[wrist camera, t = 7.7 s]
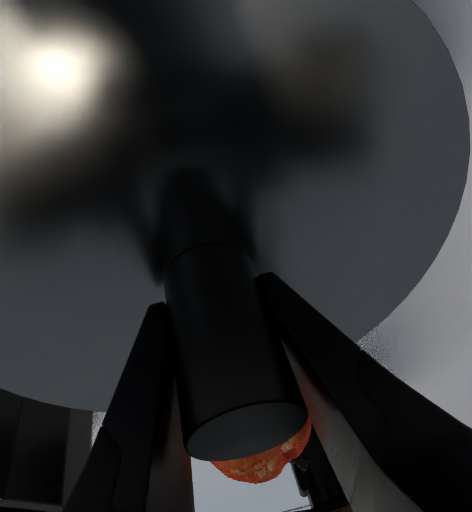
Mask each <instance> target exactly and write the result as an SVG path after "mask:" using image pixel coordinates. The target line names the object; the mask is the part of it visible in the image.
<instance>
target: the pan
mask: <svg viewBox="0 0 472 512" xmlns="http://www.w3.org/2000/svg"><path fill="white" fill-rule="evenodd" d="M92 419H93V413H92V411H89V410H81V409H73V408H67V407H62V406H58V405H53V404H48V403H43V402H40V401H36V400H33V399H30V398H26V397H23V396H19V395H16V394H14V393H11V392H8V391H6V390H3V389H1V388H0V512H61V511H62V509H63V508H64V506H65V504H66V502H67V500H68V498H69V496H70V494H71V492H72V490H73V488H74V486H75V484H76V482H77V480H78V478H79V476H80V474H81V471H82V469H83V467H84V465H85V463H86V461H87V458H88V456H89V454H90V451H91V449H92Z"/></svg>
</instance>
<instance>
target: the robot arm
mask: <svg viewBox="0 0 472 512" xmlns="http://www.w3.org/2000/svg"><path fill="white" fill-rule="evenodd" d="M258 281H259V284H260V286H261V289H262V292H263V294H264V297H265V299H266V302H267V305H268V307H269V310H270V313H271V315H272V318H273V320H274V323H275V325H276V328H277V330H278V333H279V336H280V338H281V341H282V344H283V346H284V349H285V351H286V354H287V357H288V359H289V362H290V365H291V367H292V370H293V372H294V375H295V378H296V380H297V383H298V386H299V388H300V391H301V393H302V396H303V399H304V401H305V404H306V407H307V409H308V416H309V418H310V420H311V422H312V423H311V432H310V437H309V440H308V442H307V444H306V446H305V447H304V449H303V451H302V453H301V454H300V455H301V457H302V458H303V459H304V460H307V459H310V460H312V461H311V462H310V463H309V464H308V466H307V469H306V470H305V471H301V469H300V468H299V466H297V465H296V464H293V463H290V464H291V467H292V470H293V473H294V476H295V479H296V483H297V486H298V489H299V492H300V495H301V496H302V497H306V496H308V499H309V502H310V505H311V509H310V510H307V511H301V512H472V429H471V428H470V427H468V426H466V425H465V424H463V423H462V422H460V421H459V420H457V419H456V418H454V417H453V416H451V415H450V414H448V413H447V412H446V411H444V410H443V409H441V408H440V407H438V406H437V405H436V404H434V403H433V402H431V401H430V400H428V399H427V398H425V397H424V396H423V395H421V394H420V393H418V392H417V391H415V390H414V389H412V388H411V387H410V386H408V385H407V384H405V383H404V382H403V381H401V380H400V379H399V378H397V377H396V376H394V375H393V374H392V373H390V372H389V371H388V370H387V369H385V368H384V367H383V366H382V365H381V364H379V363H378V362H377V361H376V360H374V359H373V358H372V357H371V356H370V355H369V354H367V353H366V352H365V351H364V350H361V348H360V347H359V346H358V345H357V344H356V343H355V342H353V341H352V340H351V339H350V338H349V337H348V336H346V335H345V334H344V333H343V332H342V331H341V330H339V329H338V328H337V327H336V326H335V325H334V324H332V323H331V322H330V321H329V320H328V319H327V318H326V317H324V316H323V315H322V314H321V313H320V312H319V311H317V310H316V309H315V308H314V307H313V306H312V305H310V304H309V303H308V302H307V301H306V300H305V299H303V298H302V297H301V296H300V295H299V294H298V293H297V292H295V291H294V290H293V289H292V288H291V287H290V286H288V285H287V284H286V283H285V282H284V281H283V280H281V279H280V278H279V277H278V276H277V275H276V274H274V273H273V272H266V273H263V274H260V275H258ZM360 350H361V351H360ZM102 425H103V426H101V427H100V429H99V432H98V434H97V437H96V439H95V442H94V444H93V447H92V449H91V451H90V454H89V456H88V458H87V461H86V463H85V465H84V467H83V469H82V471H81V474H80V476H79V478H78V480H77V482H76V484H75V486H74V488H73V490H72V492H71V494H70V496H69V498H68V500H67V502H66V504H65V506H64V508H63V509H62V511H61V512H195V509H194V495H193V482H192V469H191V456H190V455H189V454H188V453H187V452H186V450H185V449H184V445H183V437H182V429H181V421H180V412H179V404H178V396H177V388H176V380H175V372H174V364H173V356H172V348H171V340H170V332H169V324H168V316H167V307H166V304H165V303H164V302H158V303H154V304H151V305H150V306H149V307H148V309H147V311H146V314H145V316H144V319H143V321H142V324H141V326H140V329H139V332H138V334H137V337H136V339H135V342H134V344H133V347H132V349H131V352H130V354H129V357H128V359H127V362H126V364H125V367H124V369H123V372H122V374H121V377H120V379H119V382H118V384H117V387H116V389H115V392H114V394H113V397H112V399H111V402H110V404H109V407H108V410H107V412H106V415H105V417H104V420H103V422H102Z"/></svg>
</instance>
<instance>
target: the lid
mask: <svg viewBox="0 0 472 512" xmlns="http://www.w3.org/2000/svg"><path fill="white" fill-rule="evenodd" d="M469 156H470V131H469V116H468V111H467V106H466V101H465V96H464V91H463V86H462V83H461V80H460V78H459V75H458V73H457V70H456V68H455V65H454V63H453V61H452V58H451V56H450V53H449V51H448V48H447V47H446V45H445V44H444V42H443V41H442V39H441V37H440V36H439V34H438V33H437V31H436V30H435V28H434V27H433V25H432V23H431V22H430V20H429V19H428V17H427V16H426V14H425V13H424V12H423V11H422V10H421V9H420V8H419V7H418V6H417V5H416V4H415V3H414V2H413V0H0V388H1V389H3V390H6V391H8V392H11V393H14V394H16V395H19V396H23V397H26V398H30V399H33V400H36V401H40V402H43V403H48V404H53V405H58V406H62V407H67V408H73V409H81V410H89V411H96V412H107V410H108V407H109V404H110V402H111V399H112V397H113V394H114V392H115V389H116V387H117V384H118V382H119V379H120V377H121V374H122V372H123V369H124V367H125V364H126V362H127V359H128V357H129V354H130V352H131V349H132V347H133V344H134V342H135V339H136V337H137V334H138V332H139V329H140V326H141V324H142V321H143V319H144V316H145V314H146V311H147V309H148V307H149V306H150V305H151V304H154V303H158V302H164V303H165V304H166V307H167V316H168V324H169V332H170V340H171V348H172V356H173V364H174V372H175V380H176V388H177V396H178V404H179V412H180V421H181V429H182V437H183V445H184V449H185V450H186V452H187V453H188V454H189V455H190V456H192V457H193V458H196V459H199V460H204V461H229V460H236V459H241V458H246V457H250V456H253V455H256V454H259V453H262V452H265V451H267V450H270V449H272V448H274V447H276V446H278V445H280V444H282V443H284V442H286V441H287V440H289V439H290V438H292V437H293V436H294V435H296V434H297V433H298V432H299V431H300V430H301V429H302V428H303V427H304V425H305V424H306V422H307V419H308V409H307V407H306V404H305V401H304V399H303V396H302V393H301V391H300V388H299V386H298V383H297V380H296V378H295V375H294V372H293V370H292V367H291V365H290V362H289V359H288V357H287V354H286V351H285V349H284V346H283V344H282V341H281V338H280V336H279V333H278V330H277V328H276V325H275V323H274V320H273V318H272V315H271V313H270V310H269V307H268V305H267V302H266V299H265V297H264V294H263V292H262V289H261V286H260V284H259V281H258V275H260V274H263V273H266V272H273V273H274V274H276V275H277V276H278V277H279V278H280V279H281V280H283V281H284V282H285V283H286V284H287V285H288V286H290V287H291V288H292V289H293V290H294V291H295V292H297V293H298V294H299V295H300V296H301V297H302V298H303V299H305V300H306V301H307V302H308V303H309V304H310V305H312V306H313V307H314V308H315V309H316V310H317V311H319V312H320V313H321V314H322V315H323V316H324V317H326V318H327V319H328V320H329V321H330V322H331V323H332V324H334V325H335V326H336V327H337V328H338V329H339V330H341V331H342V332H343V333H344V334H345V335H346V336H348V337H349V338H350V339H351V340H352V341H353V342H355V343H356V342H357V341H358V340H360V339H361V338H362V337H364V336H365V335H366V334H368V333H369V332H370V331H371V330H373V329H374V328H375V327H376V326H377V325H378V324H379V323H381V322H382V321H383V320H384V319H385V318H386V317H388V316H389V315H390V314H391V312H392V311H393V310H394V309H395V308H396V307H397V306H398V305H399V304H400V303H401V302H402V301H403V300H404V299H405V298H406V297H407V296H408V295H409V293H410V292H411V291H412V290H413V289H414V287H415V286H416V285H417V284H418V283H419V281H420V280H421V279H422V277H423V276H424V274H425V273H426V272H427V270H428V269H429V267H430V266H431V264H432V263H433V261H434V260H435V258H436V257H437V255H438V253H439V251H440V249H441V247H442V246H443V244H444V242H445V240H446V238H447V236H448V235H449V232H450V230H451V227H452V225H453V222H454V220H455V217H456V215H457V213H458V210H459V207H460V203H461V200H462V196H463V192H464V188H465V184H466V181H467V172H468V164H469Z"/></svg>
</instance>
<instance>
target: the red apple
mask: <svg viewBox="0 0 472 512" xmlns="http://www.w3.org/2000/svg"><path fill="white" fill-rule="evenodd" d="M311 423H312V422H311V420H310V418H309V416H308V419H307V422H306V424H305V425H304V427H303V428H302V429H301V430H300V431H299V432H298V433H297V434H296V435H294V436H293V437H292V438H290V439H289V440H287V441H286V442H284V443H282V444H280V445H278V446H276V447H274V448H272V449H270V450H267V451H265V452H262V453H259V454H256V455H253V456H250V457H246V458H241V459H236V460H229V461H210V462H211V463H212V464H213V465H214V466H215V467H216V468H218V469H219V470H220V471H221V472H222V473H223V474H224V475H226V476H227V477H228V478H232V479H234V480H237V481H243V482H249V483H255V484H257V483H262V482H266V481H269V480H271V479H273V478H275V477H277V476H278V475H279V474H280V473H281V472H282V470H283V468H284V466H285V465H286V464H287V463H288V462H289V463H293V464H296V465H297V466H299V468H300V469H301V471H305V470H306V469H307V466H308V464H309V463H310V462H311V461H312V460H310V459H307V460H304V459H303V458H302V457H301V455H300V454H301V453H302V451H303V449H304V447H305V446H306V444H307V442H308V440H309V437H310V432H311Z"/></svg>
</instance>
